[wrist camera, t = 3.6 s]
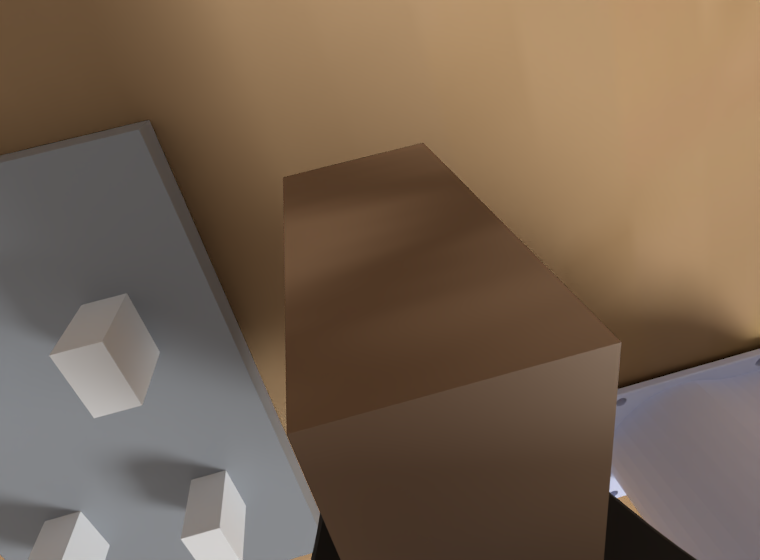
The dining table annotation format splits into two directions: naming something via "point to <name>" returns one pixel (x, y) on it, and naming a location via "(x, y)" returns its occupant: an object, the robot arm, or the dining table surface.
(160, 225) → the hinge board
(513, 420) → the cabinet door
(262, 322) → the dining table surface
